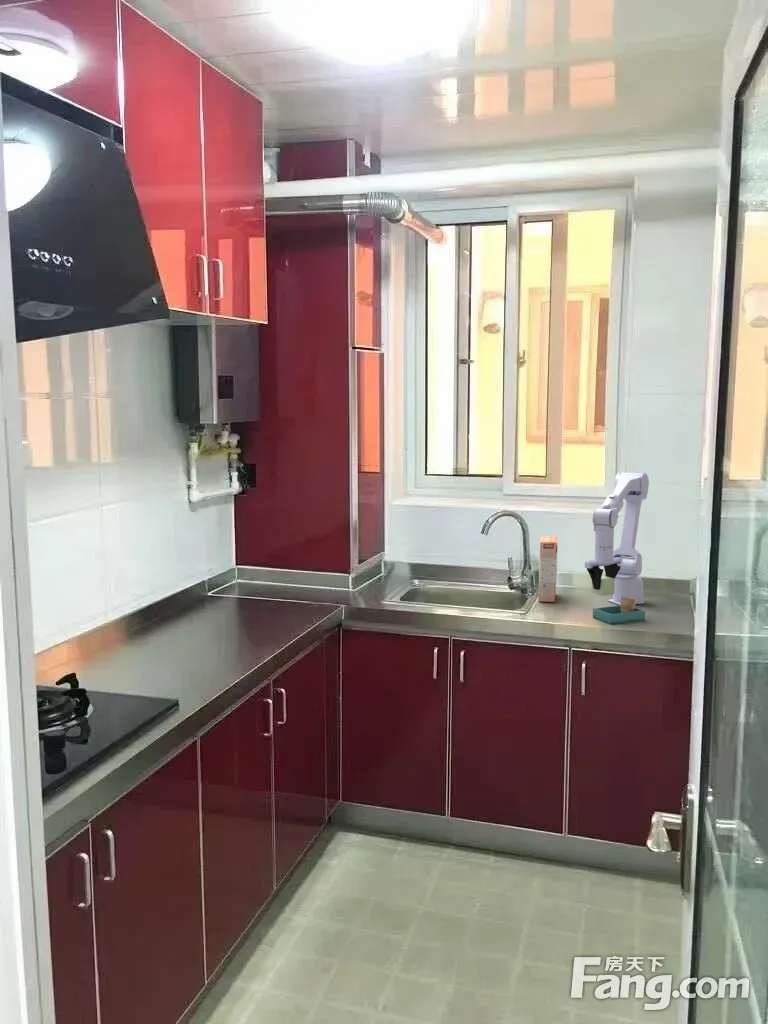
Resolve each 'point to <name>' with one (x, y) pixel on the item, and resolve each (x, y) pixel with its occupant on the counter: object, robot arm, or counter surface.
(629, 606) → the cork cylinder
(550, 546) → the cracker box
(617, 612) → the bin
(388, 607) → the counter surface
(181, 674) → the counter surface
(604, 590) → the sage cube
